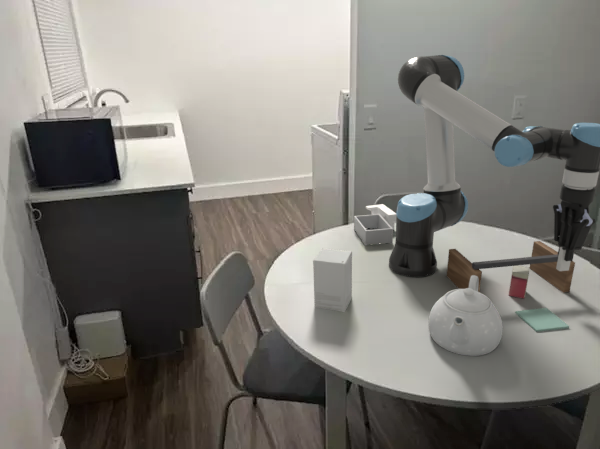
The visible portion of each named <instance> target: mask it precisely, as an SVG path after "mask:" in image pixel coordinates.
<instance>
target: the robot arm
mask: <svg viewBox="0 0 600 449" xmlns="http://www.w3.org/2000/svg"><path fill="white" fill-rule="evenodd" d="M397 76H398V78H397V83H398V84H397V85H398V89H400V91H401V93H402V94H403V95H404V97H406V99H408V100H410V101H411V102H413V104H415V105H417V106H418V107H423V113H424V115H423V116H424V133H425V154H426V172H427V184H426V185H424V187H423V189H422V190H423V193H422V192H418V193H409V194H406V195H404V196H403V197H401V198H400V199H399V201H397V206H396V212H395V213H396V215H397V217H396V223H395V224H396V225H395V243H394V245H393V249H392V251H391V253H390V256H389V257H388V258H389V259H388V267H389V268H390V270H391V271H392V272H394V273H395V274H398V275H400V276H406V277H409V278H411V277H412V278H423V277H427V276H431V275H433V274H434V273H436V272H437V269H438V267H437V266H438V261H437V257H436V253H435V249H434V237H435V235H434V234H435V232H438V231H441V230H443V229H446V228H449V227H453V226H455V225H456V224H459V223H460V222H461V221H462V220H464V219H465V217H466V215H467V213H468V211H469V201H468V198H467V196H466V195H465V193H464V192H463V191H462V189H461V188H462V187H461V185H460V184H459V183H458V182H457V181H456V164H455V161H456V160H455V158H456V157H455V136H454V135H455V134H454V132H455V130H454V126H455V127H457V128H459V129H460V130H461V131H463V132H464V133H465V134H467V135H469V136H470V137H471V138H473V139H474V140H476V141H477V142H480V144H482V145H484V146H485V147H487V148H489V149H490V150H491V151H493V152H494V156H495V158H496V160H497V162H498V163H499V165H502V166H504V167H507V168H514V167H520V166H524V165H525V164H528V163H531V162H534V161H538V160H541V159H544V158H548V159H556V160H560V161H565V165H564V169H563V175H562V181H561V182H562V185H561V187H560V192H559V199H560V200H561V201H560V203H559V204H554V205H553V206H552V209H553V213H554V215H553V217H554V219H553V220H554V223H553V224H554V226H553V228H554V229H553V230H554V231H553V235H554V236H553V237H554V238H553V240H554V241H555V242H557V243H558V251H557V252H558V261H557V266H556V269H557V270H558V271H568V270H569V267H570V262H571V261H572V257H573V258H574V256H573V253H574V251H580V250H582V248H583V246H584V244H585V242H586V239H587V237H588V235H589V232H590V230H591V228H592V227H593V225H594V224H595V223H596V219H595V218H591V217H590V205H591V204H592V203H593V202H594V199H595V194H596V188H595V187H596V186H597V184H598V179H599V175H600V123H595V122H576V123H574V124H573V125H572V127H571V129H562V128H561V129H560V128H554V127H553V128H552V127H546V126H541V125H538V126H535V125H534V126H533V125H531V126H530V125H529V126H526V127H524V129H523V130H520V129H519V128H517V127H515V126H514V125H512V124H511V123H510V122H507V121H506V120H504V119H502V118H501V117H500V116H498V115H496V114H495V113H493V112H492V111H489V110H488V109H487V108H485V107H483V106H481V105H480V104H478V103H477V102H475V101H473V100H471V98H469V97H467V96H466V95H464V94H462V93H461V92H459V90H460V89H461V88H462V85H464V80H465V71H464V68H463V65H462V63H461V62H460V61H459V60H458V59H457V58H456V57H454V56H451V55H447V54H446V55H445V54H437V55H436V54H435V55H426V56H425V55H421V56H415V57H412V58H410V59H407V60H406V62H405V63H404V64H402V66H401V68H400V69H399V73H398V75H397ZM574 254H575V253H574Z"/></svg>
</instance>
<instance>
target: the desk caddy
mask: <svg viewBox="0 0 600 449" xmlns="http://www.w3.org/2000/svg"><path fill="white" fill-rule="evenodd" d="M365 228H374V229H365ZM378 228H379V229H378ZM353 230H354V232H355V231H356V232H357V233H356V232H355V233H356V235H357V236H358V235H359V236H360V237H359V236H358V237H359V239H360V238H361V239H362V240H361V239H360V240H361V241H362V243H363V242H364V243H363V244H364V246H369V245H368V244H377V245H380V244H379V243H390V244H393V240H394V238H393V237H394V231H393V228H392V227H391V226H390V225H389V224H388V223H387V222H386V221H385V220H384V218H383V217H382V216H381V215H380V214H374V215H371V214H366V215H365V214H364V215H363V214H362V215H354V216H353Z"/></svg>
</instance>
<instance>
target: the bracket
mask: <svg viewBox="0 0 600 449" xmlns="http://www.w3.org/2000/svg"><path fill="white" fill-rule="evenodd" d="M365 209H366V210H367V211H370V212H371V214H370V215H374V214H380V215H381V216H382V217H383V218H384V220H385V221H386V222H387V223H388V224H389V225H390V226H391V227H392V228H393V230H394V231H395V224H396V217H397V215H396V212H395V211H393V209H391V208H390V207H388V206H386V205H385V204H383V203H381V204H380V203H379V204H373V205H366V206H365Z"/></svg>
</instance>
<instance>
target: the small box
mask: <svg viewBox="0 0 600 449" xmlns="http://www.w3.org/2000/svg"><path fill="white" fill-rule="evenodd" d="M529 276H530V266H525V265H517V266H512V271H511V277H510V283H509V289H508V290H509V291H508V296H509V297H514V298H519V299H525V298H526V293H527V287H528V282H529Z"/></svg>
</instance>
